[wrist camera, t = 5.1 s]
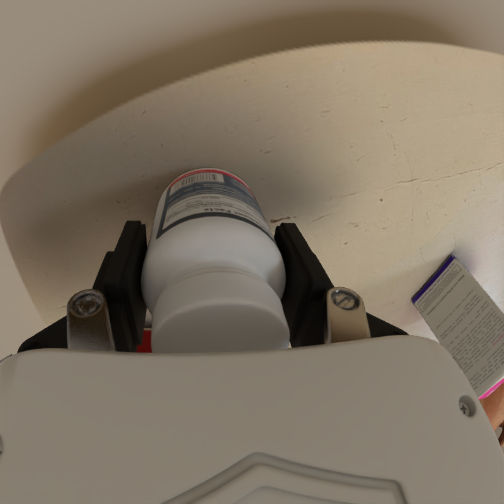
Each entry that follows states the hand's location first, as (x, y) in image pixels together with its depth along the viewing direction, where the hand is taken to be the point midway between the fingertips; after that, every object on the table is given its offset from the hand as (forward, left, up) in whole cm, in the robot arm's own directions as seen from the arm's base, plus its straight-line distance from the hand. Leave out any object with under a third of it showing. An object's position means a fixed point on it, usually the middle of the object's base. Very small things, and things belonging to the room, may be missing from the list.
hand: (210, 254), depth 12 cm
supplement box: (+21, -6, -4) cm, 23 cm away
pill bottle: (0, 0, -4) cm, 4 cm away
